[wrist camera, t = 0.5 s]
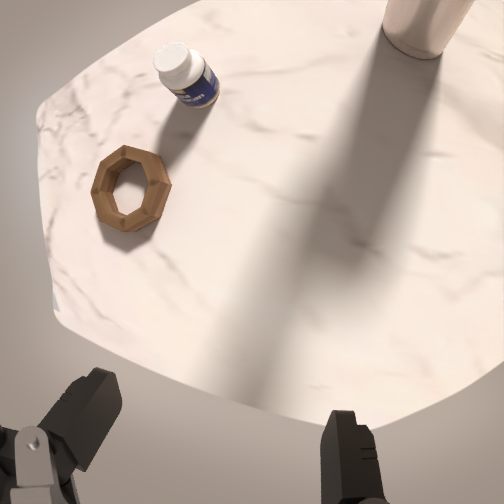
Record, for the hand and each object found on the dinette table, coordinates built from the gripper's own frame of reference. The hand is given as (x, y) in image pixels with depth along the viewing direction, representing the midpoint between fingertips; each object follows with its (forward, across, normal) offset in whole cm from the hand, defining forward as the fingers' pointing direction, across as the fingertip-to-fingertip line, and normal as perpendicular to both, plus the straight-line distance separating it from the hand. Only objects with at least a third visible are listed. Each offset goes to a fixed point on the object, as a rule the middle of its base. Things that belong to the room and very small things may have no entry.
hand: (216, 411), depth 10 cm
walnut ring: (+29, +18, -2) cm, 35 cm away
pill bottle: (+32, +10, -16) cm, 37 cm away
